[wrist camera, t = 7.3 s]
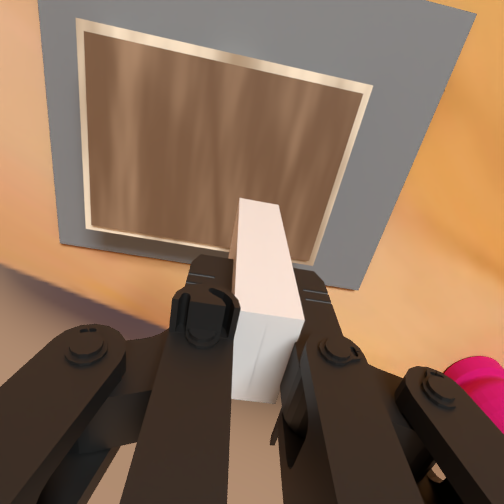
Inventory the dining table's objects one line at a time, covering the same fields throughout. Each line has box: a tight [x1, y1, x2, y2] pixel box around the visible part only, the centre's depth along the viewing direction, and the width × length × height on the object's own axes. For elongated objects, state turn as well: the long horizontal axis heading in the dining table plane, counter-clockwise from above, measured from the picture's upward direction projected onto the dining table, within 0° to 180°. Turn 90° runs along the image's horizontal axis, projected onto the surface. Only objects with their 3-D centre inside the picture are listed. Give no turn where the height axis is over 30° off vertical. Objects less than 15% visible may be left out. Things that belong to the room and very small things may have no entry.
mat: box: [38, 0, 477, 290], centre depth 24 cm, size 26×21×1 cm
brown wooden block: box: [76, 18, 373, 266], centre depth 22 cm, size 4×12×16 cm
